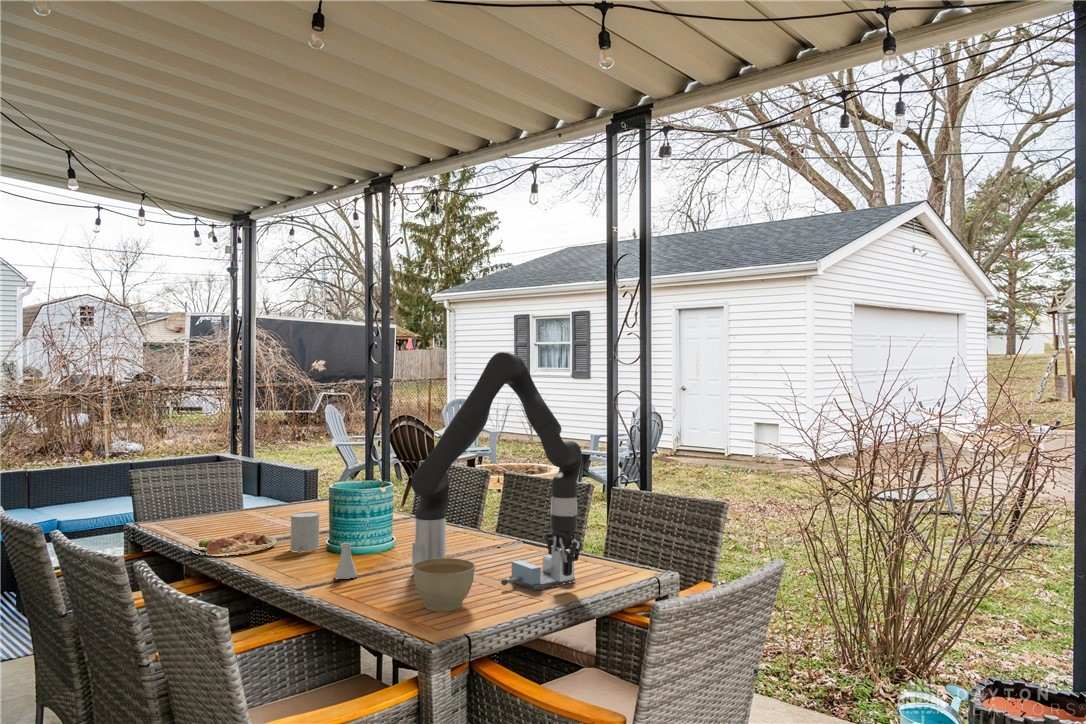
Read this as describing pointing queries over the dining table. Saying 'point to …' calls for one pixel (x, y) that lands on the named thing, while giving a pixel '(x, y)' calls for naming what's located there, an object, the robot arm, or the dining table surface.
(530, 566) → the sliding jaw
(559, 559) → the steel block
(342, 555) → the flask
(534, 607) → the dining table surface
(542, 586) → the vise
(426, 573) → the planter bowl
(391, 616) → the dining table surface
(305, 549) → the grey cylinder
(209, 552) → the rice dish
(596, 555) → the dining table surface
